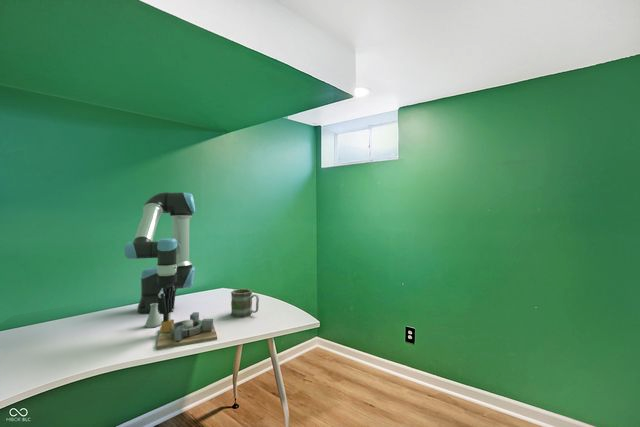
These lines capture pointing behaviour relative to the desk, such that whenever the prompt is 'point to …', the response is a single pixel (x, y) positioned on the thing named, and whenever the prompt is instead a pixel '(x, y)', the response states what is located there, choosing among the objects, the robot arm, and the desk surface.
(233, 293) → the mug
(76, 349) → the desk surface
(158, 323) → the flask
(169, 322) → the ring nut
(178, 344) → the board
